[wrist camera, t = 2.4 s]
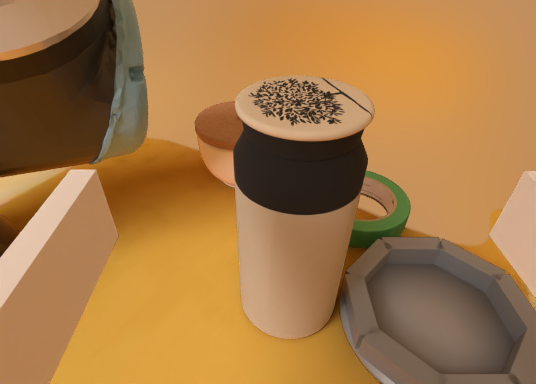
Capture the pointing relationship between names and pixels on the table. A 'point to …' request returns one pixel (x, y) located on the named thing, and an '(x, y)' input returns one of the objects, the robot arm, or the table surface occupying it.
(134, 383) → the table surface
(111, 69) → the robot arm
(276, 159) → the travel mug
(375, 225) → the tape roll
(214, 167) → the lidded jar
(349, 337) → the socket ring
